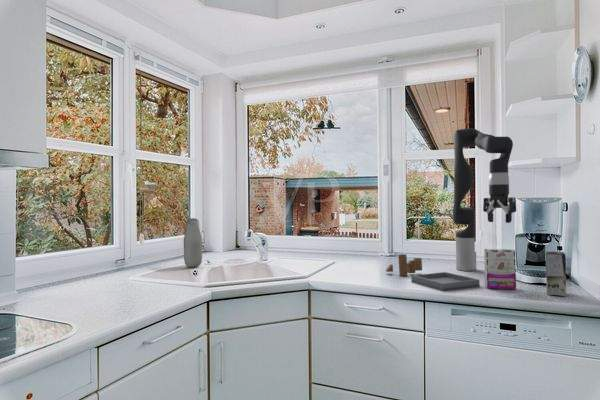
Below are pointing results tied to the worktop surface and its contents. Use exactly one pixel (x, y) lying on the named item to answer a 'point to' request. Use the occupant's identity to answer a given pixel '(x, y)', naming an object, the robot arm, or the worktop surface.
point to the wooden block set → (407, 265)
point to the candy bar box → (500, 269)
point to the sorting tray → (445, 281)
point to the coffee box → (556, 273)
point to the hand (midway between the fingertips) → (499, 222)
